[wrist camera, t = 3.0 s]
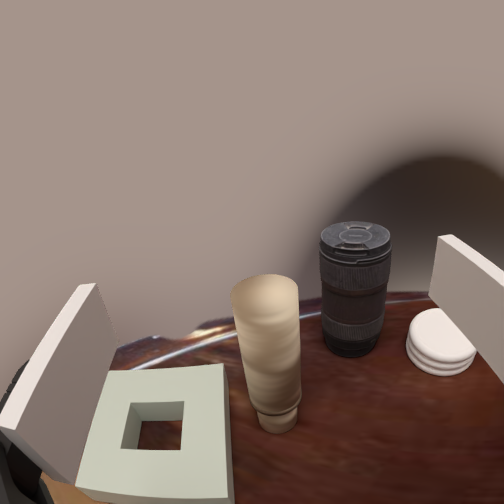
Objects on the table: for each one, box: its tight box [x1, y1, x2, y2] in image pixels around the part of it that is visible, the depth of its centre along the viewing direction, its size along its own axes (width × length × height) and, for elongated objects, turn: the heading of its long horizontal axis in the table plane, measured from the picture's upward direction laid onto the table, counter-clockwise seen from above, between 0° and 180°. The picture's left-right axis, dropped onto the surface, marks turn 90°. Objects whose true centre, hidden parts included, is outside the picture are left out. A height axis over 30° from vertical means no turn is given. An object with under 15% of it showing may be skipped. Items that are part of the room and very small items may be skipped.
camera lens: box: [319, 222, 392, 357], centre depth 35 cm, size 8×8×15 cm
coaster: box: [406, 308, 477, 376], centre depth 32 cm, size 10×10×4 cm
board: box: [75, 363, 235, 504], centre depth 26 cm, size 14×16×4 cm
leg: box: [230, 274, 302, 434], centre depth 25 cm, size 5×5×16 cm
